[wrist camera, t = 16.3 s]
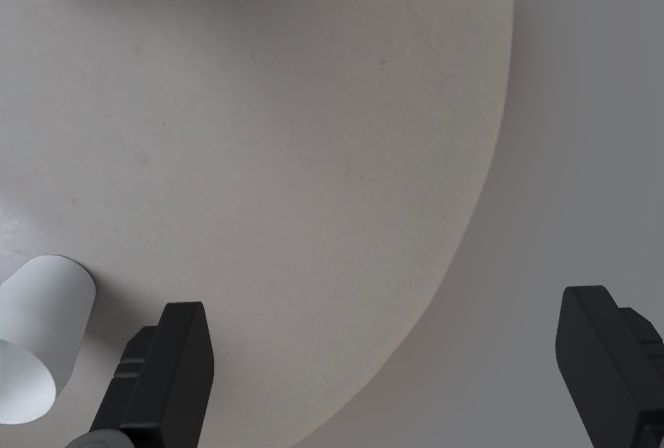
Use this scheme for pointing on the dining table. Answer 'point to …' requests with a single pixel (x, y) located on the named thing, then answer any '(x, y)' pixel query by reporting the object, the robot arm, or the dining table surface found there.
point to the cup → (40, 334)
